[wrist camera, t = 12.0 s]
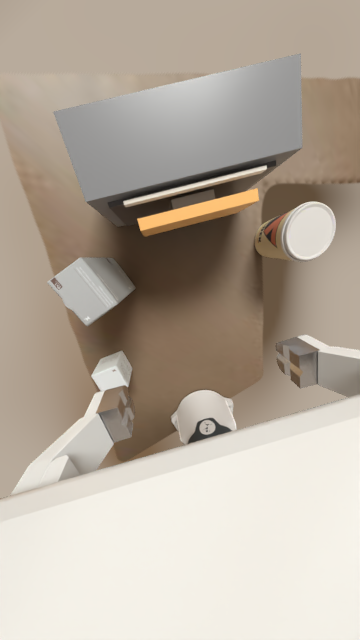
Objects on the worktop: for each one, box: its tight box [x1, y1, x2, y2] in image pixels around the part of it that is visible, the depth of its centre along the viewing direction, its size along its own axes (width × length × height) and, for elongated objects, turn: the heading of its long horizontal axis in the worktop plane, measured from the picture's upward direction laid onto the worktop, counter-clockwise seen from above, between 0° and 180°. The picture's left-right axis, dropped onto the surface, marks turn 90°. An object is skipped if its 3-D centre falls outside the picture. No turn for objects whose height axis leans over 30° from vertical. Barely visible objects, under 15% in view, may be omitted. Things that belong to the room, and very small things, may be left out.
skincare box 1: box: [48, 258, 136, 326], centre depth 34 cm, size 8×7×16 cm
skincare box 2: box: [91, 351, 132, 391], centre depth 44 cm, size 6×6×7 cm
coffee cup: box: [255, 202, 336, 262], centre depth 37 cm, size 9×9×12 cm
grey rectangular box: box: [54, 54, 302, 227], centre depth 29 cm, size 9×26×18 cm, turn 104°
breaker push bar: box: [137, 188, 259, 237], centre depth 27 cm, size 3×16×7 cm, turn 104°
